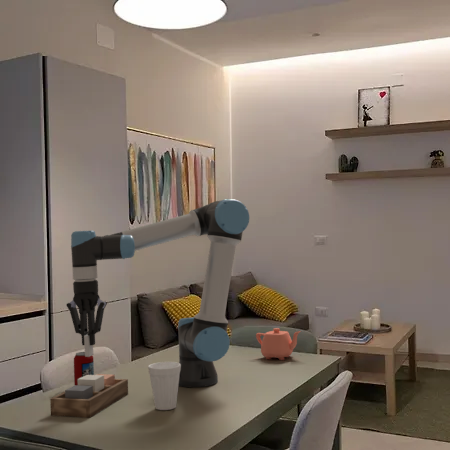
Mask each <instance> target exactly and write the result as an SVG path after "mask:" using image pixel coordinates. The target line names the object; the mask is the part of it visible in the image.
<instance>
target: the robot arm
mask: <svg viewBox="0 0 450 450" xmlns="http://www.w3.org/2000/svg"><path fill="white" fill-rule="evenodd" d="M249 224H250V213H249V210H248V208H247V207H246V206H245V204H244V203H243V202H241V201H240V200H237V199H234V198H232V199H231V198H225V199H222V200H216V201H213V202H210V203H208V204H205V205H203V206H201V207H198V208H195V209H191V210H189V213H186V214H183V215H179V216H176V217H172V218H169V219H165V220H160V221H156V222H152V223H150V224H145V225H142V226H139V227H135V228H134V227H133V228H131V229H127V230H124V231H120V232H117V233H113V234H109V235H108V234H107V235H103V236H101V235H100V236H99V235H97V234H96V231H95V230H76V231H72V233H71V239H70V240H71V243H70V245H71V246H70V247H71V248H70V249H71V263H72V266H71V267H72V280H73V283H72V285H73V293H74V294H73V295H74V296H73V297H72V300H71V301H70V302H67V303H66V307H67V309H68V311H69V314H70V317H71V320H72V324H73V328H74V332H75V334H79V335H80V336H81V344H82V345H81V346H84V352H85V357H90V356H94V345H95V344H96V334H97V333H100V332H101V330H102V323H103V317H104V312H105V308H106V306H107V304H108V302H107V301H103V300H102V299H101V297H100V295H99V282H98V280H97V278H98V263H97V262H98V261H102V260H103V261H104V260H120V259H121V260H125V259H131V258H133V257H134V256H135V251H140V250H143V249H147V248H150V247H154V246H158V245H161V244H164V243H165V244H166V243H169V242H172V241H177V240H179V239H183V238H186V237H190V236H194V235H195V236H196V237H201V236H206V235H207V238H208V239H209V241H210V245H209V251H208V252H209V253H208V256H207V264H206V269H205V275H204V282H203V287H202V288H203V289H202V292H201V293H202V295H201V299H200V300H201V301H200V304H199V305H200V307H199V312H198V313H196V314H195V315H194V316H193V317H184V318H180V319H179V320H178V325H177V331H178V334H177V335H178V355H179V356H178V359H179V361H178V363H180V364H181V370H180V375H179V384H178V387H184V388H201V387H202V388H203V387H210V386H212V385H213V386H214V385H215V384H217V383H218V381H219V380H218V379H219V377H218V371H217V370H216V367H215V364H214V362H216V361H219V360H221V359H222V358H223V357H224V356H226V355H227V353H228V351H229V349H230V344H231V343H230V342H231V341H230V337H229V334H228V325H229V321H228V319H227V317H226V316H225V315H226V309H227V302H228V297H229V291H230V284H231V278H232V272H233V265H234V259H235V254H236V247H237V245H239V244H241V242H242V237H243V232H244V231H245V230H246V229H247V228H248V226H249ZM96 306H97V309H95V308H96ZM95 311H96V313H95Z"/></svg>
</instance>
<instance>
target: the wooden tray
mask: <svg viewBox="0 0 450 450" xmlns="http://www.w3.org/2000/svg"><path fill="white" fill-rule="evenodd" d="M128 395H129V379H128V378H115V385H113V386H106V385H104V388H103V389H102V390H100V391H98V392H93V397H91V398H90V399H71V398H65V391H63V392H61V393H58V394H57V395H55V396H53V397H51V398H50V399H49V400H50V401H49V402H50V416H54V417H67V418H70V417H71V418H85V419H86V418H88V419H91V418H92V417H94V416H95V415H97V414H99V413H100V412H102V411H103V410H105V409H107V408H109V407H110V406H112V405H113V404H115V403H116V402H118V401H120V400H122V399H123V398H125V397H126V396H128Z"/></svg>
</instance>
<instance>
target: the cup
mask: <svg viewBox="0 0 450 450" xmlns="http://www.w3.org/2000/svg"><path fill="white" fill-rule="evenodd" d="M147 369H148V374H149V379H150V385H151V389H152V397H153V401H154V406H155V407H154V408H155V410H159V411H169V410H173V409H176V408H177V400H178V393H179V392H178V391H179V386H178V384H179V375H180V370H181V364H180V363H179V362H176V361H160V362H154V363H151V364H148V366H147Z"/></svg>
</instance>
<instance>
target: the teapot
mask: <svg viewBox="0 0 450 450" xmlns="http://www.w3.org/2000/svg"><path fill="white" fill-rule="evenodd" d="M300 332H302V331H301V330H300V331H295V332H294V333H293V336H292V337H291V336H290V333H289V331H285V330H281V329H280V328H279V327H275V328H274V327H273V329H272V330H271V331H270V330H269V331H266V332H265V333H263V332H257V333H256V334H255V338H256V340H257V341H258V343H259V344H260V346H261V347H260V353H261V355H262V356H263V358H264V357H265V360H271V359H272V358H275V359H276V358H278V360H279V361H284V360H285V359H286V358H289V357H290V356H291V355H292V353H293V351H294V349H295V348H296V346H297V344H298V335H299V333H300ZM261 336H262V338H261Z"/></svg>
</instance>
